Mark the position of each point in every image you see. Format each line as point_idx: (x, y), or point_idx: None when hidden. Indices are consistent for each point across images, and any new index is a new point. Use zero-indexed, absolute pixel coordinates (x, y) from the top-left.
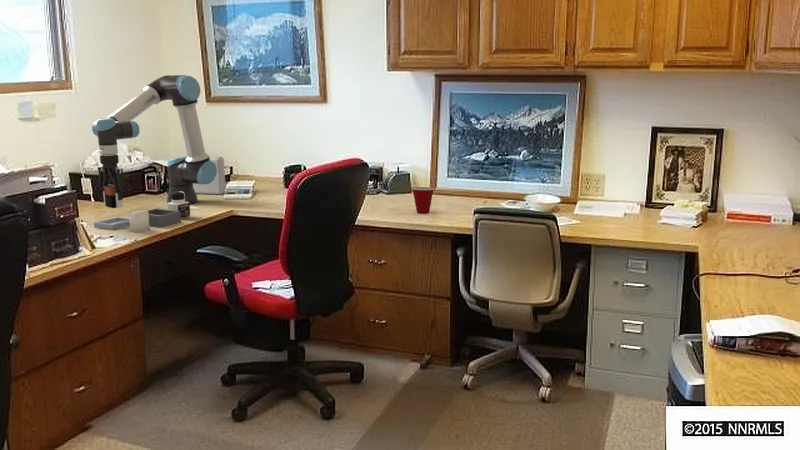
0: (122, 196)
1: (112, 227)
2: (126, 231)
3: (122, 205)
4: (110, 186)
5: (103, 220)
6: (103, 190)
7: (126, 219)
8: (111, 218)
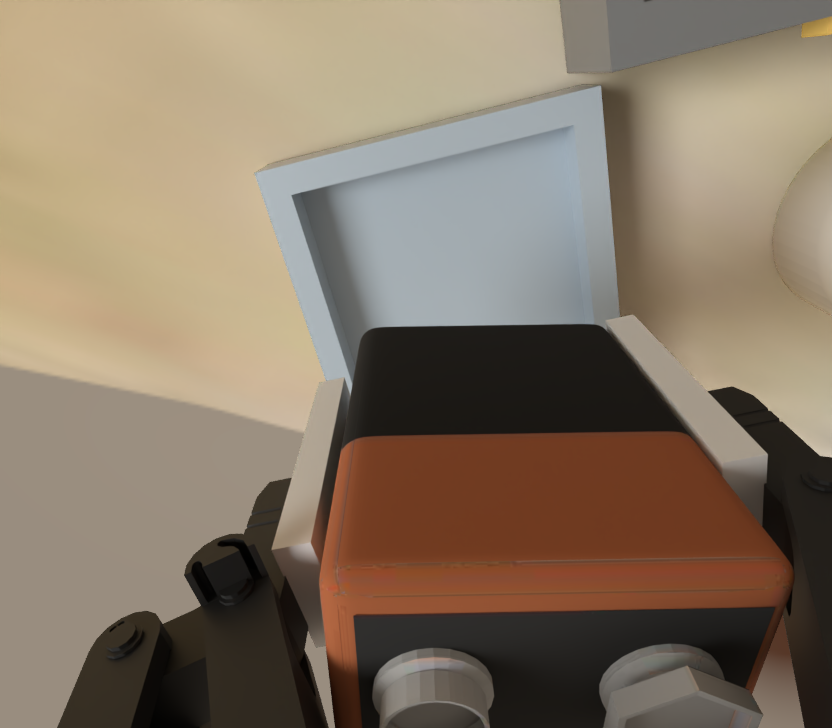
0: (777, 418)
1: None
2: (779, 329)
3: (641, 328)
4: (554, 709)
5: (346, 381)
6: (305, 654)
7: (445, 154)
8: (301, 280)
